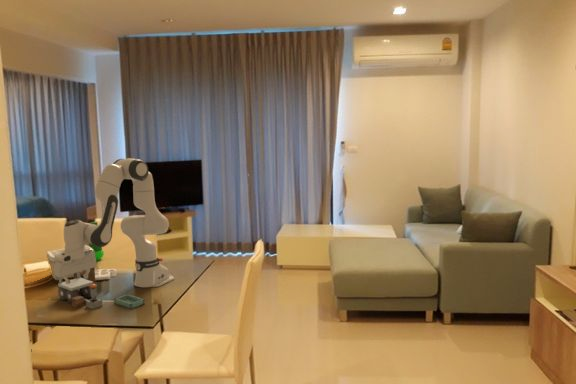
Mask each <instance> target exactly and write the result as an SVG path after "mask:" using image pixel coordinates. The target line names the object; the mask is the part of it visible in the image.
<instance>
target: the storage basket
mask: <svg viewBox="0 0 576 384" xmlns="http://www.w3.org/2000/svg"><path fill="white" fill-rule="evenodd" d="M84 247H85V251H87V250H90V249H92V248H91V247H89V245H87V244H84ZM64 250H65V248H61V249H55V250H54V249H53V250H47V251H46V258H47V261H48V265H49V264H50V266H51V270H52V276H53V277H52V276H51V277H52V278H53V279H54V280H55V281H59V277H57V276H56V275H55V273H54V265H55V262H56V261H57V260H55V256H56V255H58V254H60V253H61V252H63V251H64ZM92 250H93V249H92ZM82 272H83V271H81V273H82ZM72 278H74V273H73V274H70V275H68V277H67V279H72ZM62 280H65V279H64V278H63V277H62Z"/></svg>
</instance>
